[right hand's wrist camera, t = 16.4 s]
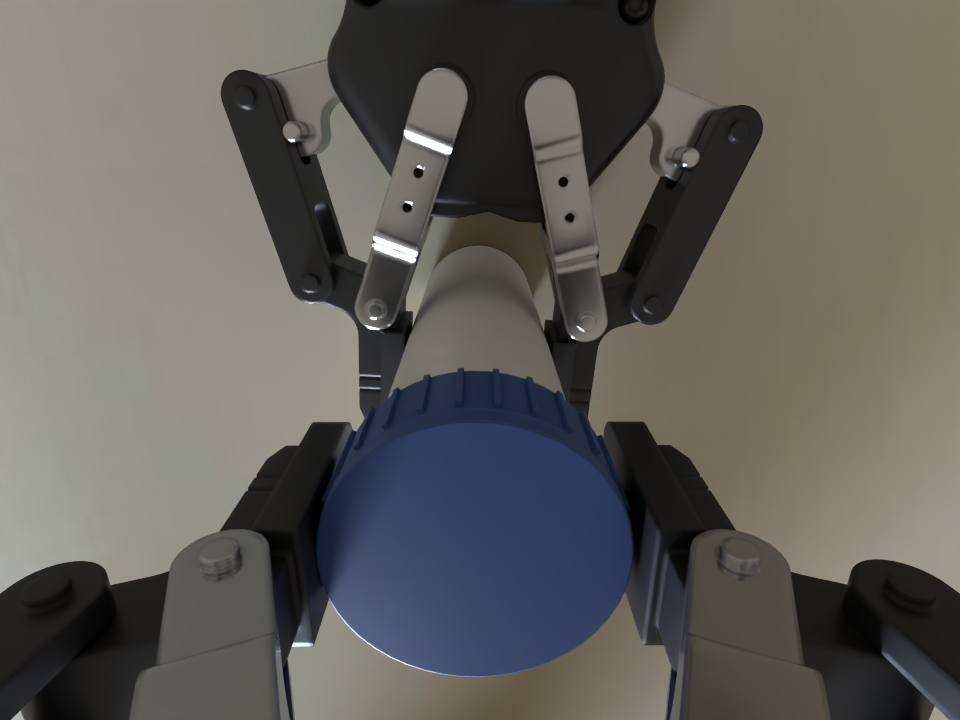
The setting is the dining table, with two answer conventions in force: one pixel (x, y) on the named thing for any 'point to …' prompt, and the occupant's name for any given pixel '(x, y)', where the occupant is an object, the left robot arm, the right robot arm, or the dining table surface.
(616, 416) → the dining table surface
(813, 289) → the dining table surface
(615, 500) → the lid
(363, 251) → the dining table surface
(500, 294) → the bottle
